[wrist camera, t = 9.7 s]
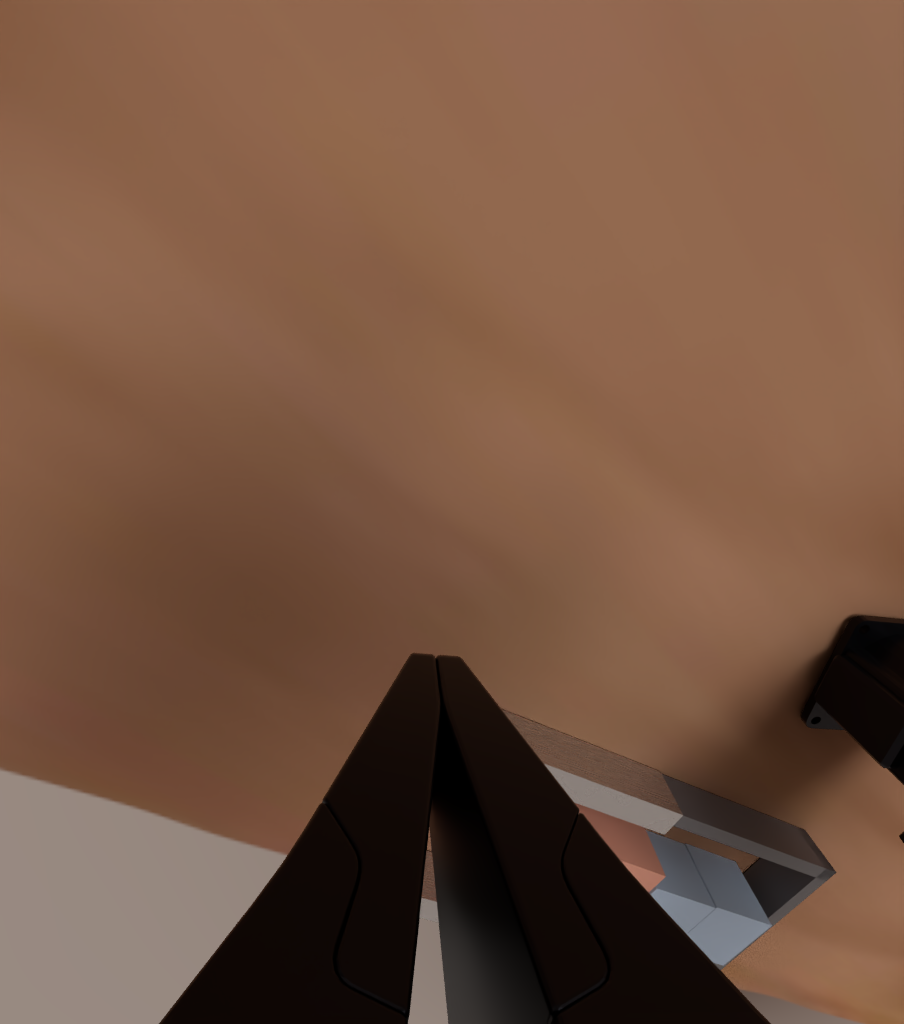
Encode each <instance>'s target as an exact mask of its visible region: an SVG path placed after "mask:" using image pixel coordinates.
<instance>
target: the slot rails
mask: <svg viewBox="0 0 904 1024" xmlns="http://www.w3.org/2000/svg"><path fill="white" fill-rule="evenodd" d="M502 711H503V712H504V713H505V714H506V716H507V717H508V718H509V720H510V721H511V722H512V723H513V725H514V726H515V727H516V729H517V730H518V731H519V732H520V734H521V735H522V736H523V738H524V739H525V740H526V741H527V743H528V744H529V745H530V747H531V748H532V749H533V750H534V752H535V753H536V754H537V756H538V757H539V758H540V759H541V761H542V762H543V763H544V764H545V766H546V767H547V768H548V770H549V771H550V772H551V773H552V775H553V776H554V777H555V779H556V780H557V781H558V782H559V784H560V785H561V786H562V788H563V789H564V790H565V791H566V793H567V794H568V795H569V797H570V798H571V799H572V800H573V802H574V803H577V804H580V805H582V806H585V807H588V808H591V809H594V810H597V811H599V812H602V813H605V814H608V815H611V816H613V817H616V818H619V819H622V820H625V821H628V822H630V823H633V824H636V825H639V826H642V827H644V828H647V829H650V830H653V831H656V832H659V833H661V834H664V835H665V834H666V833H667V832H668V831H669V830H670V829H671V828H672V827H673V826H674V825H675V823H676V822H677V821H678V820H679V819H680V818H681V817H682V816H683V814H682V812H681V810H680V808H679V806H678V804H677V802H676V800H675V798H674V796H673V795H672V793H671V791H670V789H669V787H668V785H667V783H666V781H665V779H664V777H663V775H662V774H661V772H660V771H658V770H655V769H653V768H650V767H647V766H645V765H642V764H640V763H637V762H635V761H632V760H630V759H627V758H625V757H622V756H619V755H617V754H614V753H612V752H609V751H607V750H604V749H602V748H599V747H597V746H594V745H591V744H589V743H586V742H584V741H581V740H579V739H576V738H574V737H571V736H569V735H566V734H564V733H561V732H558V731H556V730H553V729H551V728H548V727H546V726H543V725H541V724H538V723H536V722H533V721H530V720H528V719H525V718H523V717H520V716H518V715H515V714H513V713H510V712H508V711H505V710H502ZM420 918H422V919H426V920H430V921H434V922H437V923H439V920H438V909H437V899H436V889H435V878H434V868H433V858H432V852H430V851H427V852H426V861H425V871H424V880H423V890H422V899H421V909H420Z"/></svg>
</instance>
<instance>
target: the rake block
mask: <svg viewBox="0 0 904 1024" xmlns="http://www.w3.org/2000/svg"><path fill="white" fill-rule="evenodd" d="M575 804H576V805H577V807H578V808H579V813H583V814H584V815H585V817H586V818H587V819H588V821H589V822H590V823H591V824H592V826H593V827H594V828H595V829H596V831H597V832H598V833H599V835H600V836H601V837H602V838H603V840H604V841H605V842H606V843H607V844H608V846H609V847H610V848H611V849H612V850H613V852H614V853H615V854H616V855H617V857H618V858H619V859H620V860H621V861H622V863H623V864H624V865H625V866H626V868H627V869H628V870H629V871H630V872H631V873H632V874H633V876H634V877H635V878H636V879H637V880H638V881H639V882H640V883H641V885H642V886H643V887H644V888H645V889H646V890H647V891H648V892H650V891H651V890H652V889H653V888H654V887H655V886H656V885H658V884H659V883H660V882H661V881H662V880H663V879H664V878H665V877H666V875H665V873H664V871H663V868H662V866H661V864H660V861H659V859H658V857H657V855H656V852H655V850H654V848H653V845H652V843H651V841H650V838H649V836H648V834H647V832H646V829H645V828H644V827H642V826H639V825H636V824H633V823H630V822H628V821H625V820H622V819H619V818H616V817H613V816H611V815H608V814H605V813H602V812H599V811H597V810H594V809H591V808H588V807H585V806H582V805H580V804H577V803H575Z"/></svg>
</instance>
